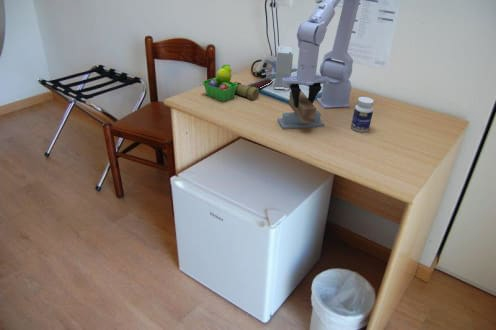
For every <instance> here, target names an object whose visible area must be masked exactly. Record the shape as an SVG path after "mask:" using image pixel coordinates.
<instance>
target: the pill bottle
mask: <svg viewBox="0 0 496 330" xmlns="http://www.w3.org/2000/svg"><path fill="white" fill-rule="evenodd" d="M373 105H374V99H373V98H370V97H367V96H359V97H358V99H357V104H356V105H355V106H354V110H353V115H352V120H351V124H350V125H351V129H352V130H353V131H355V132H359V133H366V132H368V131H369V130H370V126H371V123H372V119H373V113H374V107H373Z"/></svg>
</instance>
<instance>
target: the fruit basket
mask: <svg viewBox="0 0 496 330" xmlns="http://www.w3.org/2000/svg"><path fill="white" fill-rule="evenodd" d="M230 66H231V65H230V64H227V63H224V64H222V66H221V68H220V69H218V70H217V71H216V73H215V74H216V77H213V78H209V79H207V80H203V81H202V83H203V86H204V89H205V93H206V96H209V97H211V98H213V99H216V100H218V101H221V102H226V101H229V100H231V99H234V97H235V91H236V88H237V86H238V85H237V84H235V83H234V82H232V81H231V80H232V71H233V70H232V68H231V67H230Z"/></svg>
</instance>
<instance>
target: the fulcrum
mask: <svg viewBox="0 0 496 330" xmlns="http://www.w3.org/2000/svg"><path fill="white" fill-rule="evenodd" d="M321 115H322V114H321V112H320V111H319V110H316V116H315V122H308V123H302V122H301V120H300V119H299V118H298V116H297V115H296V113H295V112H294V111H293V112H282V118H281V117H280V118H277V122H278V124H279V125H280V127H282V128H281V129H282V130H291V129H292V130H293V129H305V128H306V129H307V128H318V127H321V128H322V127H325V126H326V125H325V123H324V122H323V120H322V119H321Z"/></svg>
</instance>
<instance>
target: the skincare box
mask: <svg viewBox="0 0 496 330" xmlns="http://www.w3.org/2000/svg"><path fill="white" fill-rule="evenodd" d="M276 56H277V57H276V66H275V77H274V85H273V86H274V87H284V88H289V89H290V87H289V85H287V86H283V85H282V78H287V77H292V70H293V69H292V68H293V57H294V47H293V46H288V45H278V47H277V54H276ZM274 87H273V88H274Z"/></svg>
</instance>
